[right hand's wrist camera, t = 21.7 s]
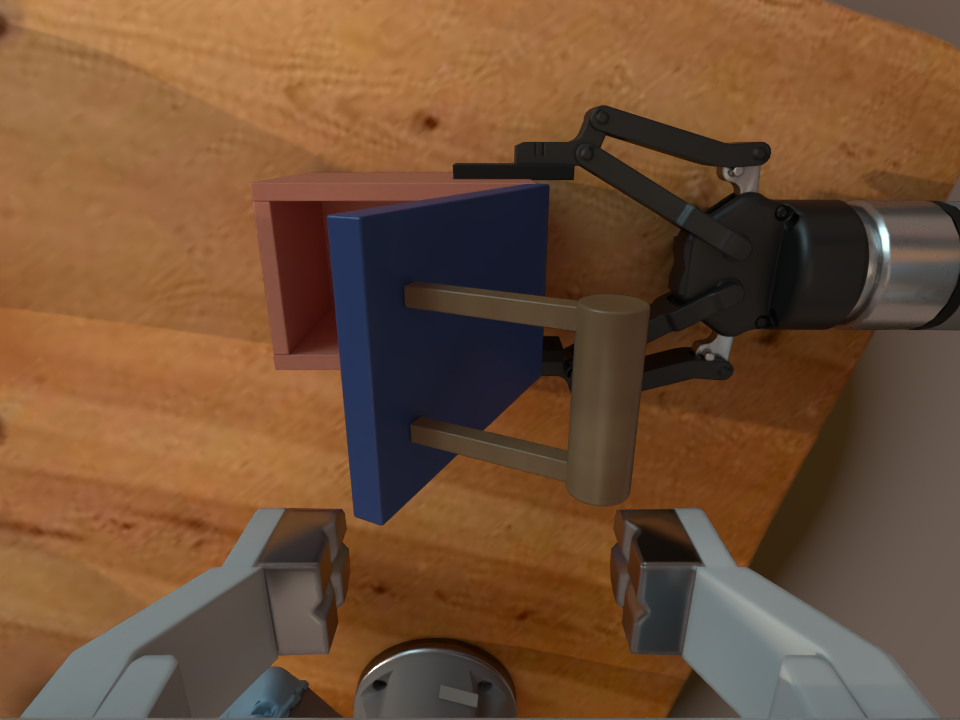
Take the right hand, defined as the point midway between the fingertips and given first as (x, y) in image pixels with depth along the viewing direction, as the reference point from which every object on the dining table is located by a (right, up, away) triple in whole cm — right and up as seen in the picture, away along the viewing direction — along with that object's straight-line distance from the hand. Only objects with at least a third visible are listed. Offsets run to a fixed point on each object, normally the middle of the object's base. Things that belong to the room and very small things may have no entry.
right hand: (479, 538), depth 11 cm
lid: (-1, +5, +13) cm, 14 cm away
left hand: (-1, +9, +23) cm, 25 cm away
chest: (-4, +11, +29) cm, 31 cm away
